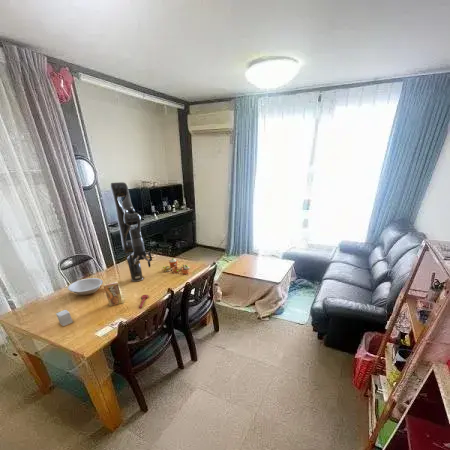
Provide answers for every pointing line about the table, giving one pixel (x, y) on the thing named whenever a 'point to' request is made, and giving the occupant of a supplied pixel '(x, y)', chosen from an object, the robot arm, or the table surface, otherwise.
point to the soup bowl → (85, 286)
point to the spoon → (143, 300)
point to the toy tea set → (176, 269)
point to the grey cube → (64, 317)
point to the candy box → (113, 293)
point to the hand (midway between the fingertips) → (143, 268)
